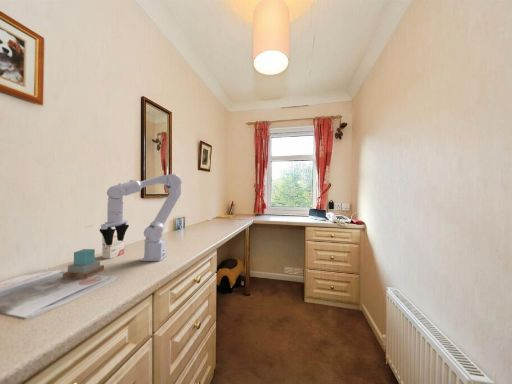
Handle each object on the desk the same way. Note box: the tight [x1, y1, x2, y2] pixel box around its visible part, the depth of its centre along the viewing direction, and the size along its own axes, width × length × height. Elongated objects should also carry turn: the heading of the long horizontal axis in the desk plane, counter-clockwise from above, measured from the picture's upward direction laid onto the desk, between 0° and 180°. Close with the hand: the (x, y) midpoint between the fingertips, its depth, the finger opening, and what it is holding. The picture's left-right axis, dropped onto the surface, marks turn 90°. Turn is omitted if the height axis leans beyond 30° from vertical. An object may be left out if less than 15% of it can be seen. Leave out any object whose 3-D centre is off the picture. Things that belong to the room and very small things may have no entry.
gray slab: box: [67, 260, 101, 274], centre depth 81 cm, size 7×7×2 cm
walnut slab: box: [62, 264, 105, 279], centre depth 81 cm, size 9×9×2 cm
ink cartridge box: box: [101, 227, 125, 260], centre depth 104 cm, size 9×5×15 cm, turn 168°
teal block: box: [73, 248, 96, 265], centre depth 81 cm, size 4×4×5 cm
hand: (114, 242), depth 91 cm, fingers open, 7 cm apart
